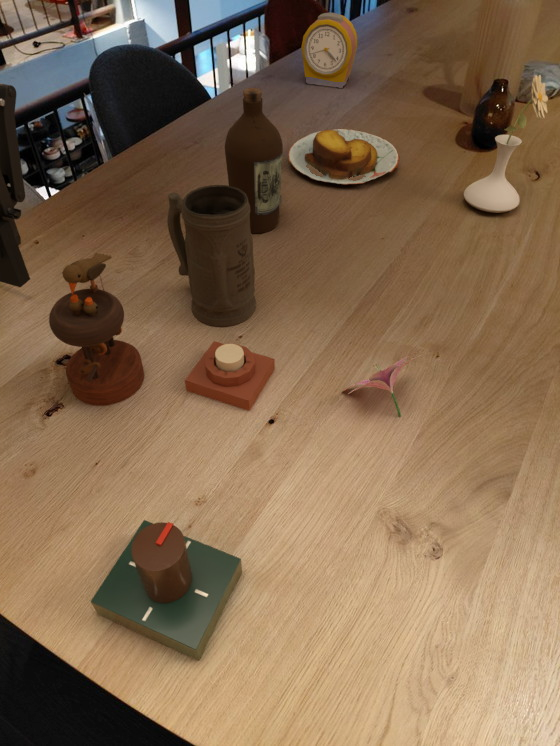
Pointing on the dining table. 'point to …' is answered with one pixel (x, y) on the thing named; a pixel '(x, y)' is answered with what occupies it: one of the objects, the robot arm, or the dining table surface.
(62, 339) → the music box
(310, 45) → the alarm clock
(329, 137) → the food on plate
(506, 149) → the flower in vase
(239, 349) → the button
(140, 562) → the knob
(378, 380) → the lily
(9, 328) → the dining table surface
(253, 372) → the button block
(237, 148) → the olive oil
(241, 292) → the beer stein
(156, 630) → the panel
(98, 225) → the dining table surface
